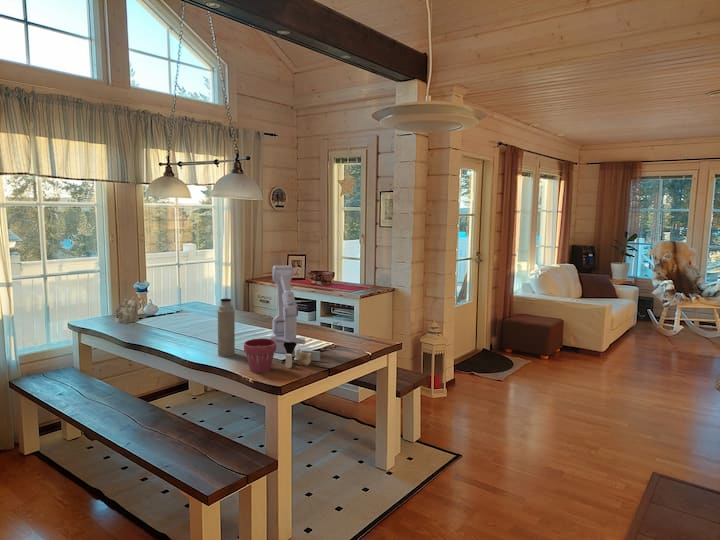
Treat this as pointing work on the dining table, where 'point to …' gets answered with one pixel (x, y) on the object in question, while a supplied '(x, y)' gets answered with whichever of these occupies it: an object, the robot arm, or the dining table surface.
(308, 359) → the block
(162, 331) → the dining table surface
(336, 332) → the dining table surface
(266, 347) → the plant pot
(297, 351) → the gate post
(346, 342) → the dining table surface
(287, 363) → the latch stile
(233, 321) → the thermos bottle
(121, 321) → the grey rough lump
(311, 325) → the dining table surface
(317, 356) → the gate
